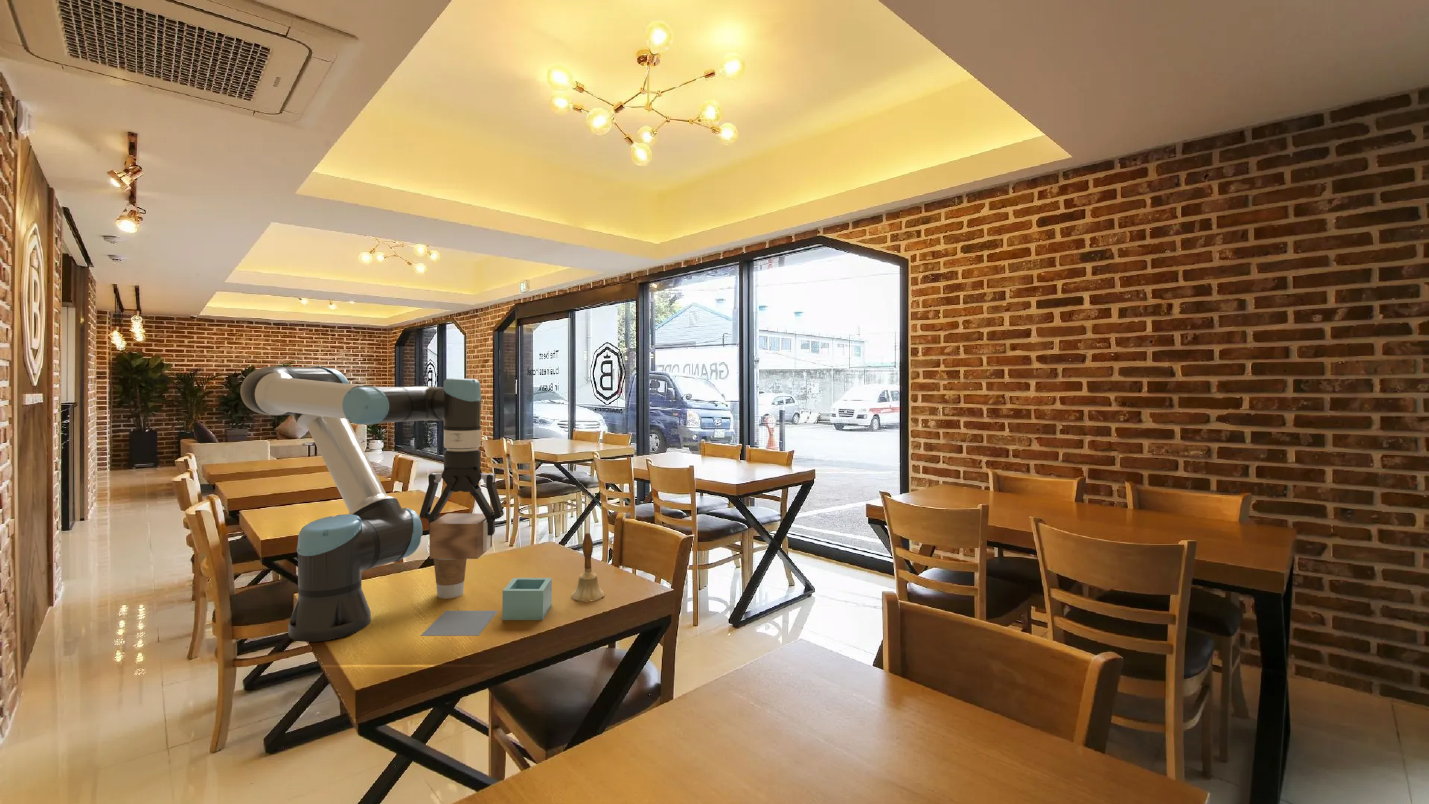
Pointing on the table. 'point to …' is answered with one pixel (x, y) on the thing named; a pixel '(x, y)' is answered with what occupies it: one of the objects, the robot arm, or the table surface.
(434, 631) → the mat
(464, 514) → the brown wooden block
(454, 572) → the coffee cup
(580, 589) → the hand bell
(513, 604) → the mint square pot
